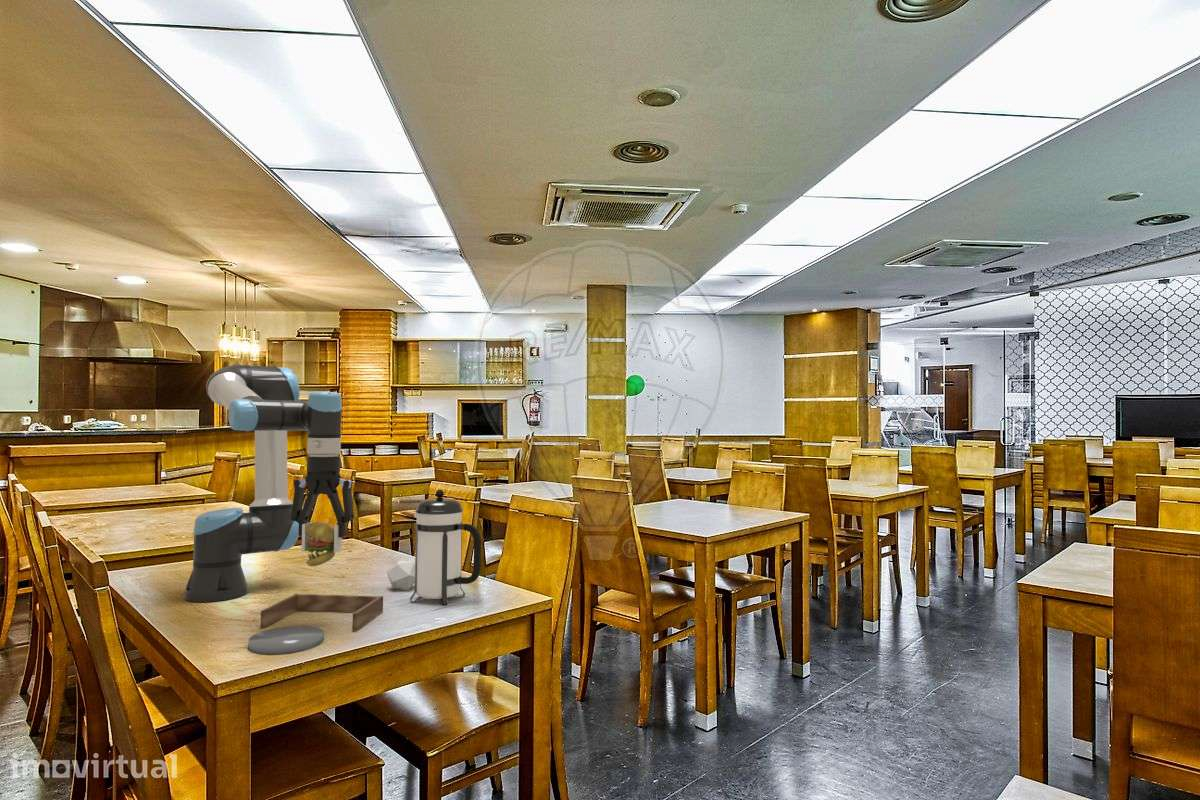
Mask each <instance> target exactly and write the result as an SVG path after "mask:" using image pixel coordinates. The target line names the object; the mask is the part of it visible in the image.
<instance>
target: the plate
mask: <svg viewBox="0 0 1200 800" xmlns="http://www.w3.org/2000/svg"><path fill="white" fill-rule="evenodd" d="M324 641H325V631H324V629H323V628H321V627H318V626H312V625H289V626H288V625H287V626H280V627H275V628H270V629H267V630H263V631H260V632H256V633H254V634H252V635H251V636H250V637H249V638H248V645H247V647H248V650H249V651H250V652H252V653H254V654H260V655H286V654H292V653H298V652H302V651H306V650H309V649H313V648H315V647H318V646H319V645H321V644H322V643H323V642H324Z"/></svg>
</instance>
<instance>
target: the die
mask: <svg viewBox="0 0 1200 800" xmlns="http://www.w3.org/2000/svg"><path fill="white" fill-rule="evenodd" d="M386 574H387V577H388V579H389V583H390V584H391V588H392V590H397V591H398V590H399V591H408V590H409V589H410V588H411V587H413V586H414V585H415V561H410V560H409V561H408V560H399V561H397V562H396V564H395V565H393V566H392V567H391V568H389V570H387V572H386Z"/></svg>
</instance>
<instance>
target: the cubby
mask: <svg viewBox="0 0 1200 800" xmlns="http://www.w3.org/2000/svg"><path fill="white" fill-rule="evenodd" d="M295 612H330V613H331V612H333V613H352V620H351V621H352V625H351V627H352V628H351V629H352V630H351V631H352V632H357V631H359V630H360V629H362V627H364V626H366V625H367V624H368V623H370V622H371V621H373V620H374V619H375V618H378V616H380V614H383V612H384V596H383V595H357V594H356V595H355V594H354V595H351V594H346V595H345V594H317V593H316V594H313V593H310V594H309V593H294V594H293V595H291V596H288V597H287V598H284V599H282V600H280V601H279V602H278V601H277V602H276V603H274V604H271V605H270V606H268V607H266V608H264V609H261V611H260V627H259V628H260V629H266V628H268V627H270V626H272V625H273V624H275V623H277V622H279V621H281V620H283V619H284V618H286V617H288V616H290V615H293V614H294V613H295Z"/></svg>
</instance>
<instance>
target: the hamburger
mask: <svg viewBox="0 0 1200 800" xmlns="http://www.w3.org/2000/svg"><path fill="white" fill-rule="evenodd" d="M331 520H332V516H330V517H329V518H328V522H325V521H319V520H318V521H314V522H310V523H311V524H309V525H308V527H307V528H306V532H307V533H308V534H309V536H310V542H308V543H307V546H308V548H309V549H308V550H307V551H306V552H308V554H307V555H308V559H307V560H306V561H305V563H306V564H307V566H309V567H317V566H321V565H323V564H325V563H327V562H329V561H331V560H332V559H333V558H334V557H335V555H336V552H334V526H333V525H332V524H330V521H331ZM308 538H309V537H308ZM313 538H315V539H313ZM325 551H326V552H325ZM314 552H315V553H314ZM319 553H321V554H319Z"/></svg>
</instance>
